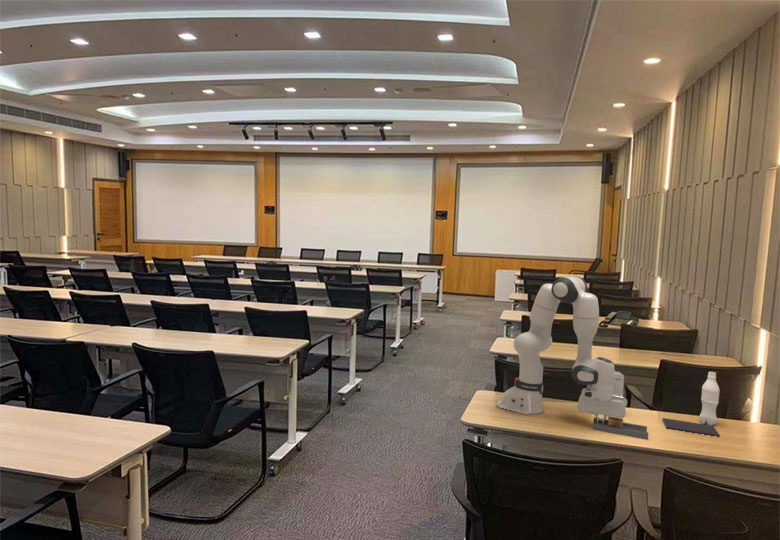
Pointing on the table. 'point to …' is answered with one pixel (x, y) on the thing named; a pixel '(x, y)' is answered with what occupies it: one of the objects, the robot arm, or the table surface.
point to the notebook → (690, 427)
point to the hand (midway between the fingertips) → (600, 423)
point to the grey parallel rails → (622, 429)
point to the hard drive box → (617, 384)
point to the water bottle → (709, 400)
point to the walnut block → (615, 422)
